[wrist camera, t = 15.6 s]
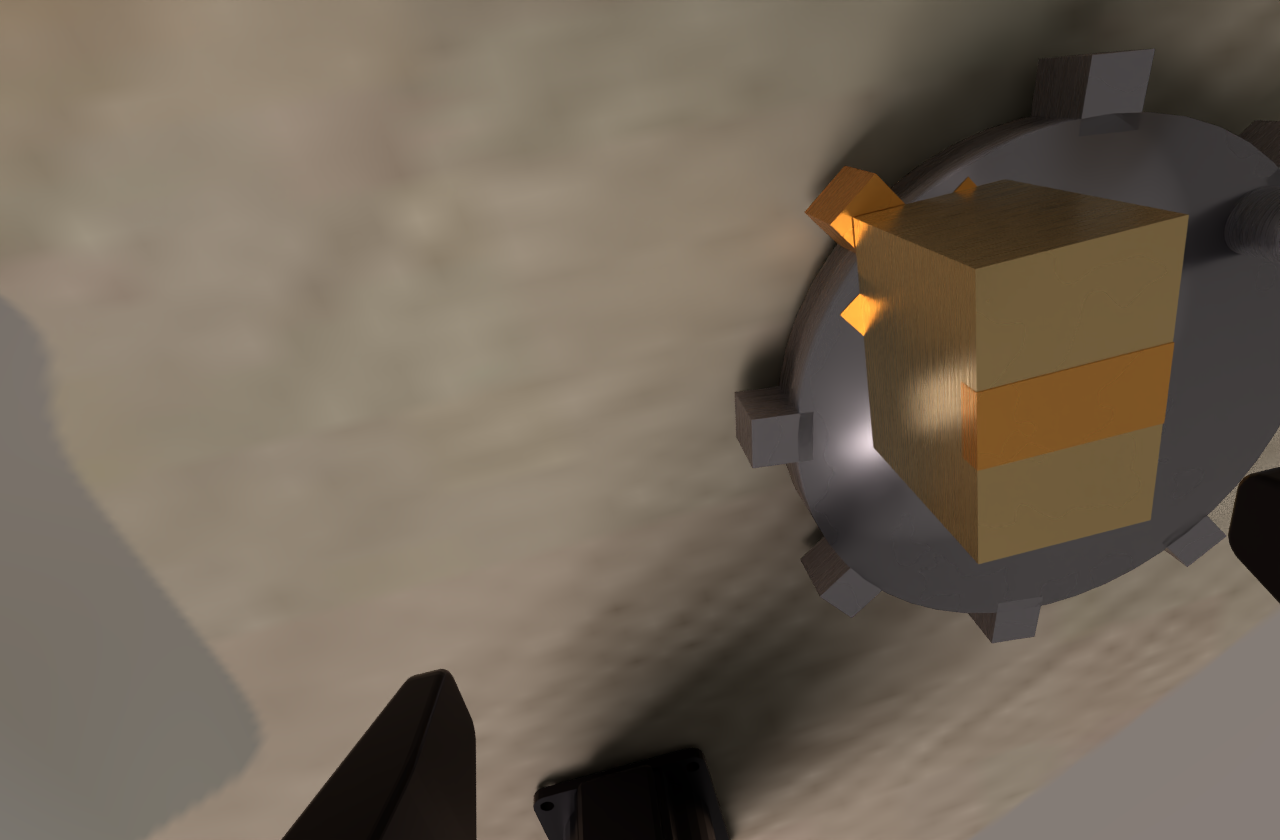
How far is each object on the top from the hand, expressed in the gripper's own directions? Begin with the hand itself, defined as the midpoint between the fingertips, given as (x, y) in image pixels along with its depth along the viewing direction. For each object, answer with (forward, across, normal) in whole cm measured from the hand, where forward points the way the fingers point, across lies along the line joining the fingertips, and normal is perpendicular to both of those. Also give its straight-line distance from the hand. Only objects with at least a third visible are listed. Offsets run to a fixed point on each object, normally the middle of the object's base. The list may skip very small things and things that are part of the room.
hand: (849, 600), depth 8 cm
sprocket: (+12, -9, +4) cm, 16 cm away
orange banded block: (+10, -6, +1) cm, 11 cm away
